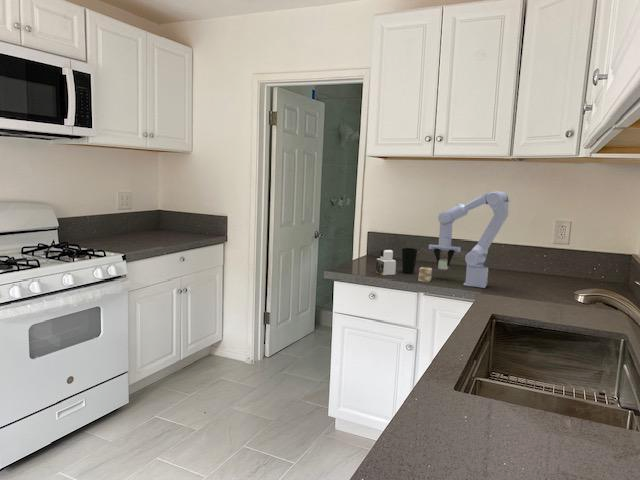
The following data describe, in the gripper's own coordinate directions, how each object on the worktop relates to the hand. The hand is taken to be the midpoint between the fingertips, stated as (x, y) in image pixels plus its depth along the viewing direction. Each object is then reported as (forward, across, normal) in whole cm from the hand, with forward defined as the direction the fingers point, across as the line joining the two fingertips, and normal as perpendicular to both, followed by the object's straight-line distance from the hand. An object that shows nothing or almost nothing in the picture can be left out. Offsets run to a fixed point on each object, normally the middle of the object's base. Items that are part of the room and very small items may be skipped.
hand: (443, 265), depth 227 cm
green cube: (+2, 0, 0) cm, 2 cm away
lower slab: (+7, +7, +8) cm, 13 cm away
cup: (+7, +18, -5) cm, 20 cm away
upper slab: (+4, +6, +8) cm, 11 cm away
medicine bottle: (+7, +27, +4) cm, 28 cm away
